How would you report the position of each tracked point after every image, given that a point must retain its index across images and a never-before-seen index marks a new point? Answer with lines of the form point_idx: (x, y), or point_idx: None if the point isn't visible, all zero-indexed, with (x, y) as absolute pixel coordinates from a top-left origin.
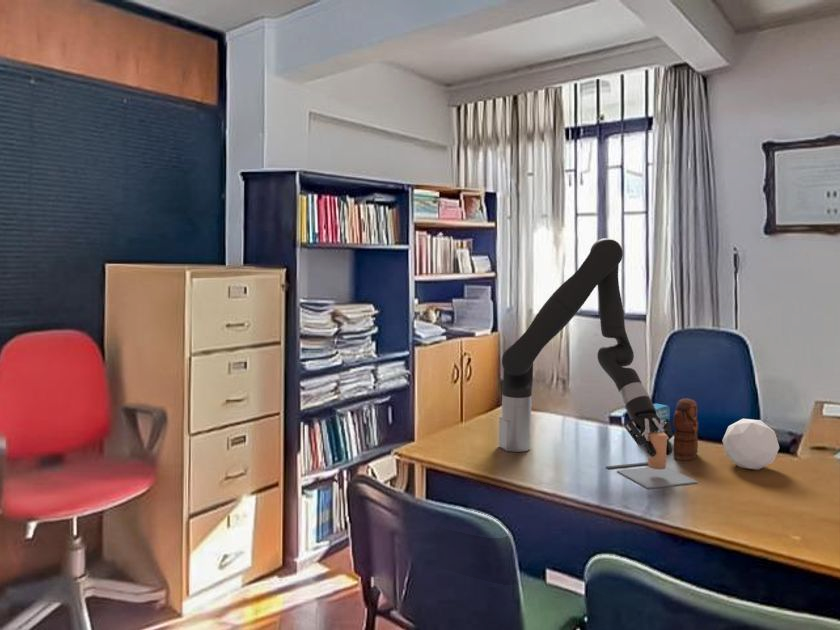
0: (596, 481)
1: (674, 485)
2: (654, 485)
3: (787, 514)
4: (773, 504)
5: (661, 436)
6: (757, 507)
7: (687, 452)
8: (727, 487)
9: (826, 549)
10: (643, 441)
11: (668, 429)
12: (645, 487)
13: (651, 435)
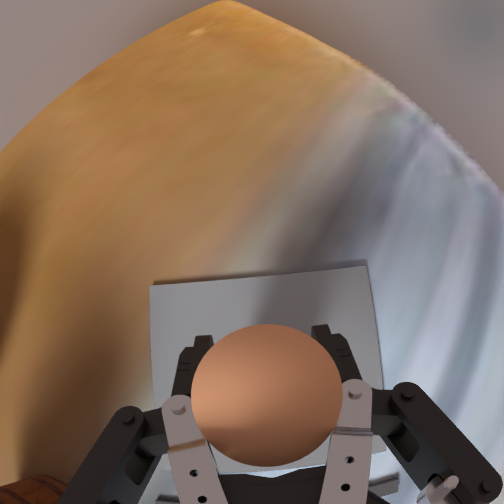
0: (482, 354)
1: (250, 279)
2: (333, 277)
3: (121, 88)
4: (97, 127)
5: (273, 336)
6: (142, 113)
7: (43, 487)
8: (95, 234)
9: (191, 15)
10: (380, 392)
11: (115, 458)
12: (366, 278)
13: (341, 384)
